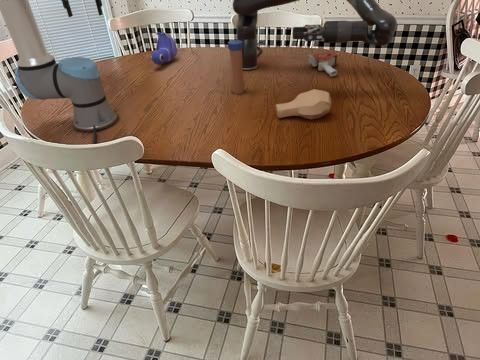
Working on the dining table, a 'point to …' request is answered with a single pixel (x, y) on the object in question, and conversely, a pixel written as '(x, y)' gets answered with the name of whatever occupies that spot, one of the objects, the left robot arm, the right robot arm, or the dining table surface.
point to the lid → (235, 45)
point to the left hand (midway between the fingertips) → (85, 15)
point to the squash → (306, 105)
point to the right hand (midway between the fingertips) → (292, 33)
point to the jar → (236, 71)
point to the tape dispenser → (324, 62)
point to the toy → (164, 49)
